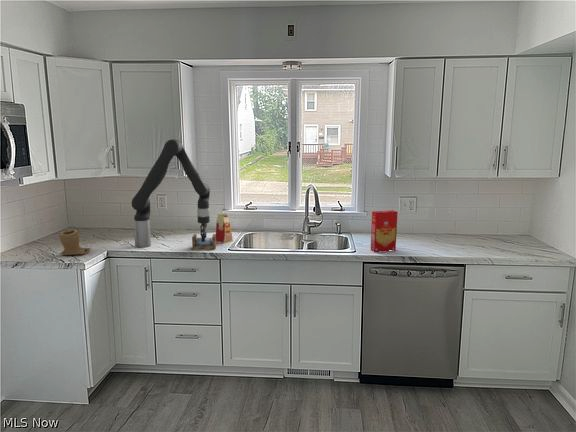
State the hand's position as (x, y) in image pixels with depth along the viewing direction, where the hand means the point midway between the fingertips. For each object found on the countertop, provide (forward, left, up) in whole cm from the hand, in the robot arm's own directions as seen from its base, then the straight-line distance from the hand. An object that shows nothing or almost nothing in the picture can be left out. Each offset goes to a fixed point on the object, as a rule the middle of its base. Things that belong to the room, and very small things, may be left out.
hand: (203, 240), depth 281 cm
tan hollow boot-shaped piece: (-76, -12, -5) cm, 77 cm away
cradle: (0, 0, -5) cm, 5 cm away
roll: (0, 0, -1) cm, 1 cm away
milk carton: (+11, +16, -5) cm, 20 cm away
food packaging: (+113, -13, -5) cm, 114 cm away
